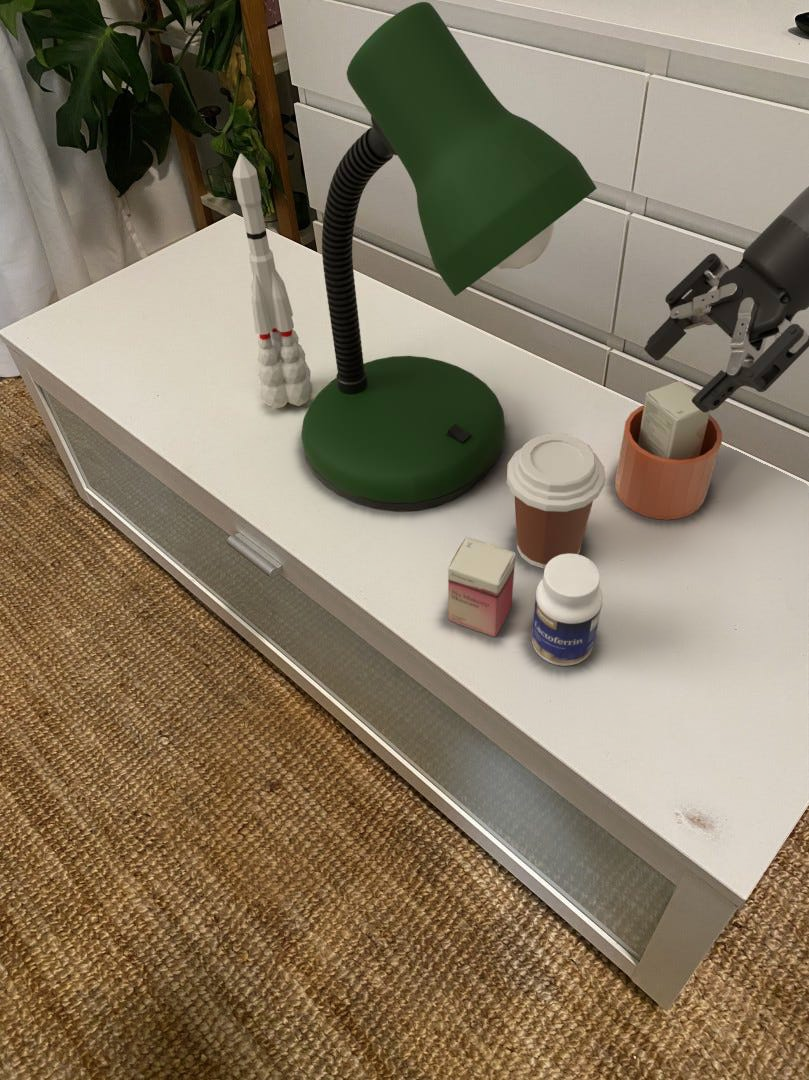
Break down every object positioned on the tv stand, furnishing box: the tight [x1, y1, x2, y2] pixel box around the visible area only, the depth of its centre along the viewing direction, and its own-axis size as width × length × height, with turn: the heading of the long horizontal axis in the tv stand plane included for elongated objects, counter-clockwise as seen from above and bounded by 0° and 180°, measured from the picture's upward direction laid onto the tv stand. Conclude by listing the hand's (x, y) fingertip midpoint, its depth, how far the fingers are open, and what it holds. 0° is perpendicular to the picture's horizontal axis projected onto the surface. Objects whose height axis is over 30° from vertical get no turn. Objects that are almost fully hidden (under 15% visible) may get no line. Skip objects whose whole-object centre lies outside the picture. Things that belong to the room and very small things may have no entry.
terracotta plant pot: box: [614, 404, 723, 521], centre depth 89 cm, size 9×9×8 cm
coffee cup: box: [506, 433, 606, 569], centre depth 83 cm, size 9×9×12 cm
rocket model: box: [232, 153, 313, 410], centre depth 94 cm, size 7×7×30 cm
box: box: [638, 380, 711, 460], centre depth 88 cm, size 5×4×11 cm
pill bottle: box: [531, 554, 603, 667], centre depth 76 cm, size 6×6×10 cm
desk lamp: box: [300, 1, 598, 512], centre depth 81 cm, size 31×23×45 cm
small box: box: [447, 536, 517, 637], centre depth 79 cm, size 5×4×8 cm
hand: (673, 380), depth 81 cm, fingers open, 8 cm apart
